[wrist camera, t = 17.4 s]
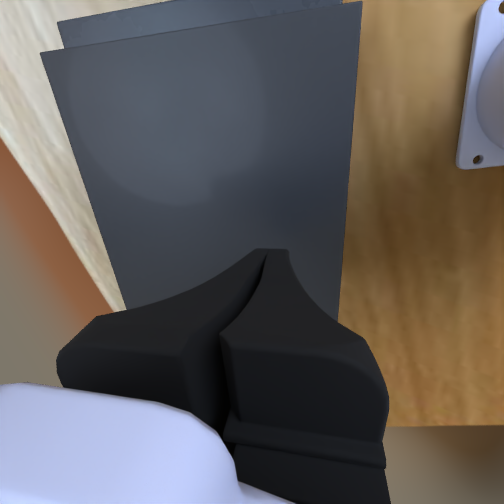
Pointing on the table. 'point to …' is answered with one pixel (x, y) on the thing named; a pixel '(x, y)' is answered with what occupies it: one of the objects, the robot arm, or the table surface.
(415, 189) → the table surface
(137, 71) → the dark grey cabinet
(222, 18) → the drawer
